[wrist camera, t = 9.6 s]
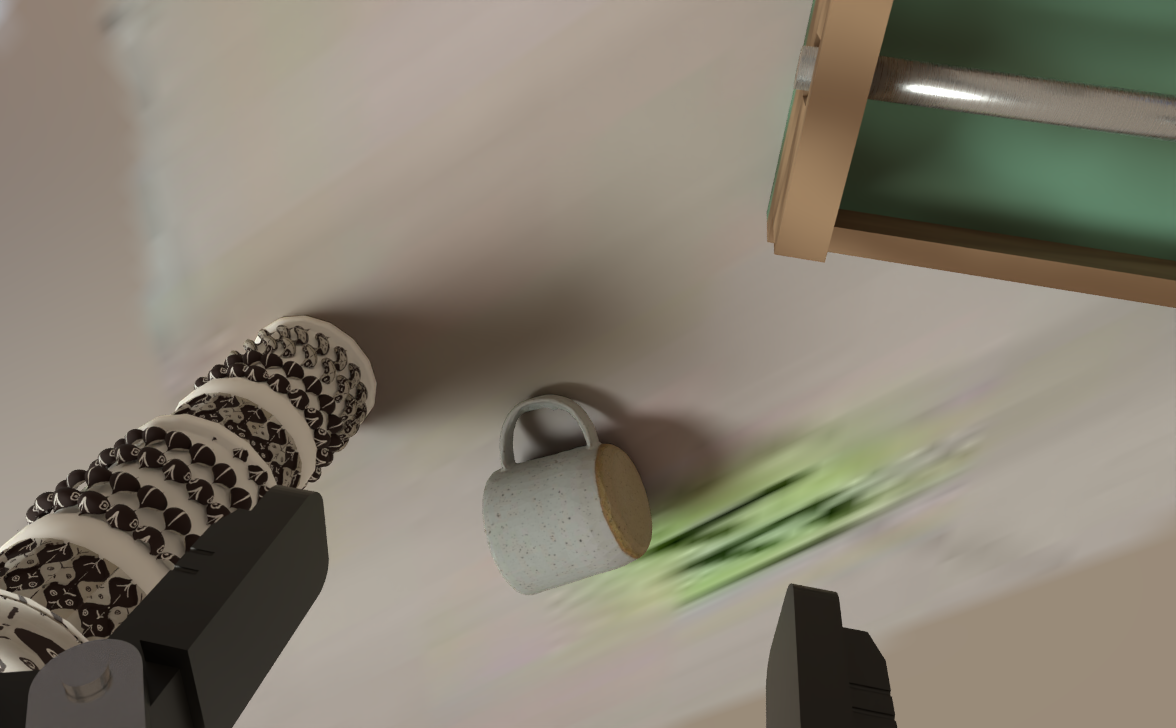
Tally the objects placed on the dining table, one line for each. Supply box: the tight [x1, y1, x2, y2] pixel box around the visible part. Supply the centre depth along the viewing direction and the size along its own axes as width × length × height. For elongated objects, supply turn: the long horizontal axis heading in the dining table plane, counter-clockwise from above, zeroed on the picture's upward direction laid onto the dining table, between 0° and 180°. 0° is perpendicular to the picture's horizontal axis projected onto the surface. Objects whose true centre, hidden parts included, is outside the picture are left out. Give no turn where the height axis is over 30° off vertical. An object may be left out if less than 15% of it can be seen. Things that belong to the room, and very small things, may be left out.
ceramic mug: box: [482, 394, 652, 595], centre depth 48 cm, size 11×8×8 cm
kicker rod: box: [794, 45, 1176, 142], centre depth 29 cm, size 5×22×12 cm, turn 84°
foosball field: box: [767, 0, 1176, 308], centre depth 32 cm, size 16×28×9 cm, turn 84°
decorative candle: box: [0, 315, 377, 673], centre depth 41 cm, size 9×9×25 cm
